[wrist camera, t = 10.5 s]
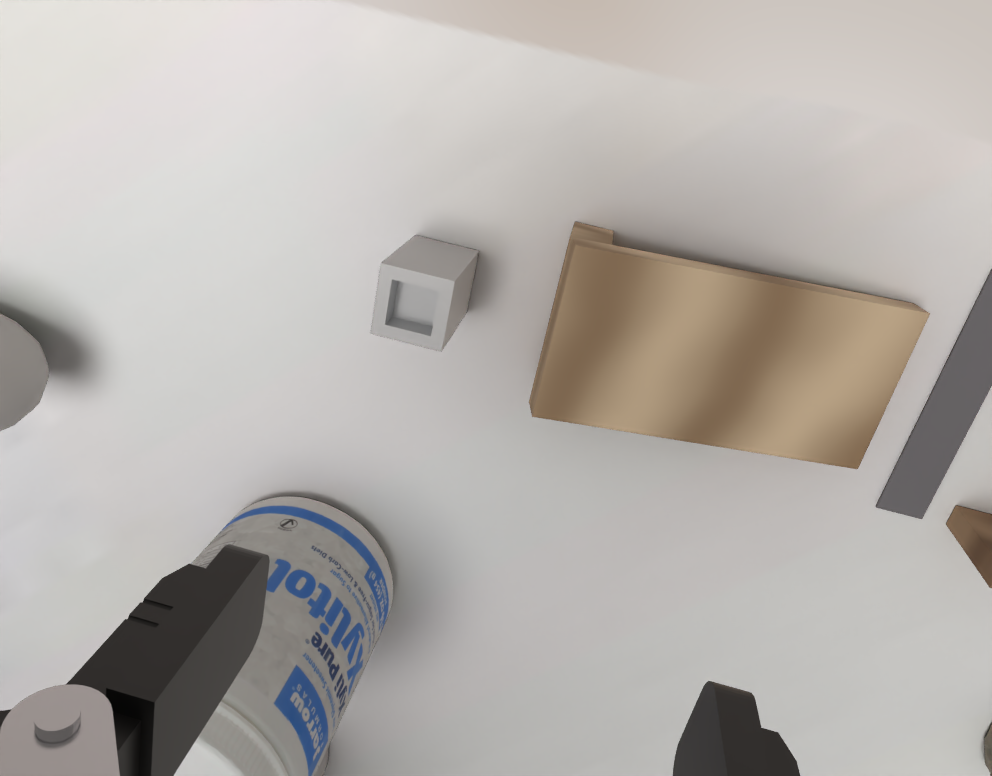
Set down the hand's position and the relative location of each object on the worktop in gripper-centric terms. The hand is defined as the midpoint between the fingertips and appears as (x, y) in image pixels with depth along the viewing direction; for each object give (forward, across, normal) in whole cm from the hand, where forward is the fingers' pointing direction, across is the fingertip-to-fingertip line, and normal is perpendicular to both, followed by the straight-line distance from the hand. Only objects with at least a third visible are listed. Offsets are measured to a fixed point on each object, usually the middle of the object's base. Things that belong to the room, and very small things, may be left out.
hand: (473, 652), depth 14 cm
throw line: (+21, -17, -1) cm, 27 cm away
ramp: (+21, -7, 0) cm, 22 cm away
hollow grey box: (+21, +5, 0) cm, 22 cm away
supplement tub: (+21, +9, +17) cm, 29 cm away
